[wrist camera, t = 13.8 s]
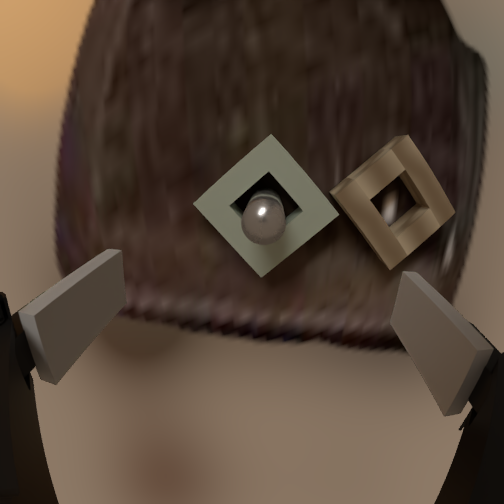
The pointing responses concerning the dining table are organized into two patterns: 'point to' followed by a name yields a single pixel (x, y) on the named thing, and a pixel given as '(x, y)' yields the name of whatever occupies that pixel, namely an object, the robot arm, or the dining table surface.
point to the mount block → (414, 220)
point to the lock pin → (264, 217)
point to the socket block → (297, 223)
